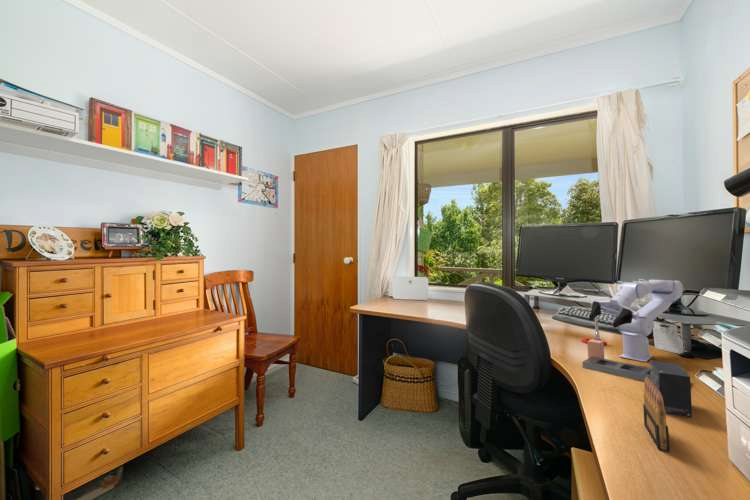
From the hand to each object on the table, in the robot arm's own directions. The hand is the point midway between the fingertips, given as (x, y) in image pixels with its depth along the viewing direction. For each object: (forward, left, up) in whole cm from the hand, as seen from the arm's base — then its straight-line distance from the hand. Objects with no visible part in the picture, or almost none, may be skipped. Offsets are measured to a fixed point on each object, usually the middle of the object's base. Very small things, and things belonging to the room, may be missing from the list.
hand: (602, 321), depth 111 cm
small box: (+20, +21, -17) cm, 34 cm away
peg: (-8, -5, -16) cm, 19 cm away
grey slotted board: (+1, +8, -16) cm, 18 cm away
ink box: (-38, +10, -17) cm, 43 cm away
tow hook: (-32, -14, -17) cm, 39 cm away
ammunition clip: (+40, +22, -17) cm, 49 cm away
